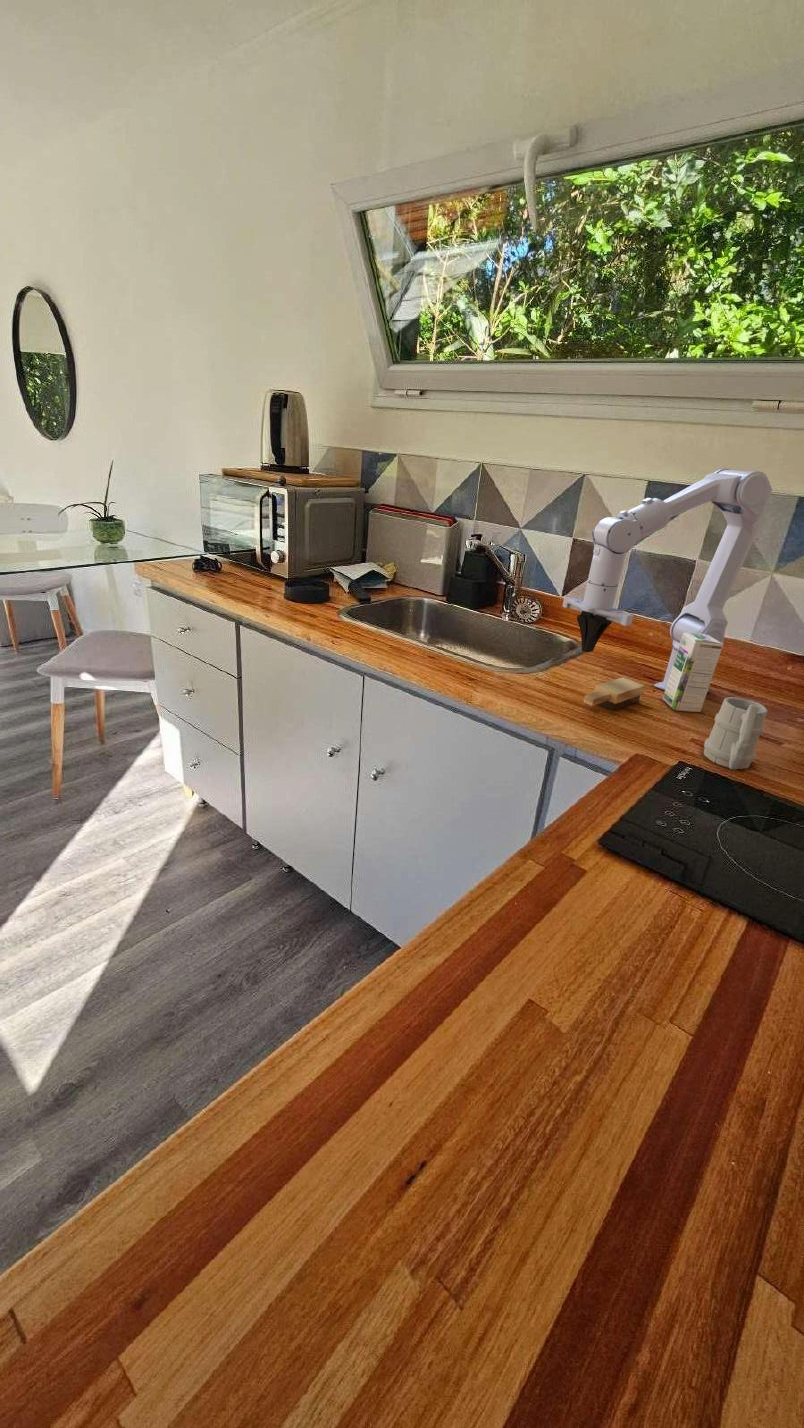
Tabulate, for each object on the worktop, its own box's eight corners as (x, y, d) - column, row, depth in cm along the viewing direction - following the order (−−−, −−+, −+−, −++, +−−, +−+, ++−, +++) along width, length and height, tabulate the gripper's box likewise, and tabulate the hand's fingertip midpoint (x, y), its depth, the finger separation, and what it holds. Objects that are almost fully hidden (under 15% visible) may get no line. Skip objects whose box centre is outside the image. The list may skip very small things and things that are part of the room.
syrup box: (661, 699, 122) (681, 631, 116) (689, 701, 122) (710, 633, 116) (672, 710, 117) (694, 639, 111) (702, 713, 117) (725, 642, 111)
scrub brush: (619, 693, 123) (623, 677, 122) (640, 701, 120) (645, 685, 118) (574, 707, 114) (578, 690, 112) (596, 717, 110) (601, 699, 109)
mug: (748, 754, 101) (773, 689, 96) (758, 786, 91) (786, 715, 86) (700, 743, 104) (721, 679, 99) (704, 773, 93) (728, 703, 89)
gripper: (559, 576, 116) (546, 642, 122) (624, 593, 107) (607, 665, 112) (580, 574, 121) (566, 638, 126) (645, 591, 111) (627, 659, 116)
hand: (587, 650), depth 119 cm, fingers closed
